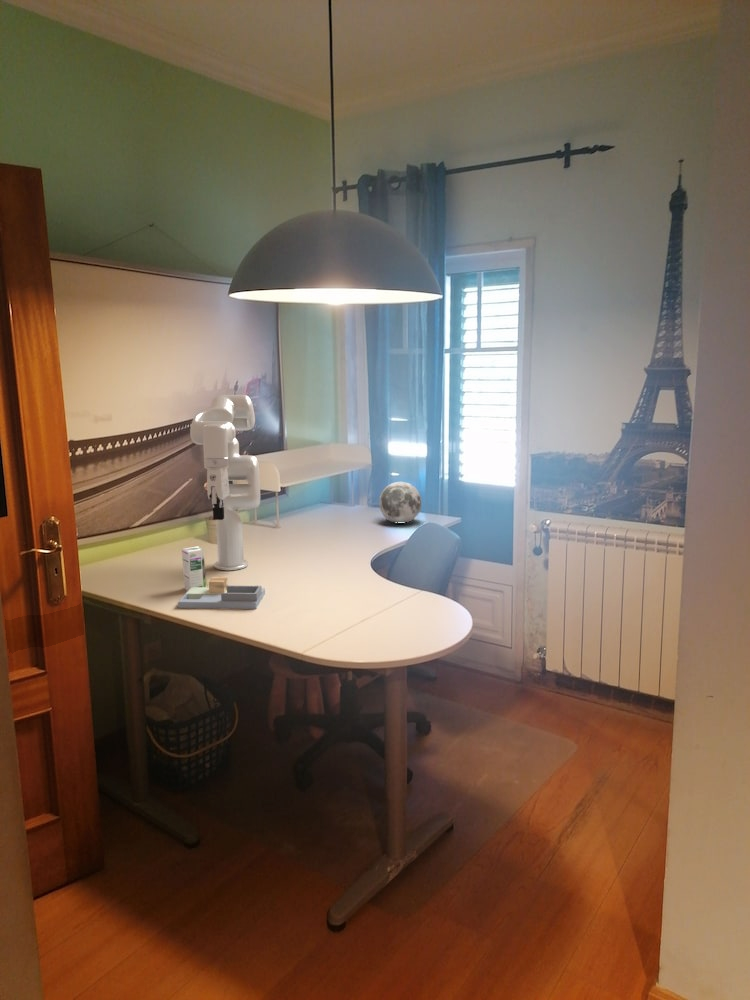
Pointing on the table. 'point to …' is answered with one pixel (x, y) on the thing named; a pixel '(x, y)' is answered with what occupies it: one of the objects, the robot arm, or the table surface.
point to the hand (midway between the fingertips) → (218, 519)
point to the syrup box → (193, 567)
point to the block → (218, 585)
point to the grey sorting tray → (223, 598)
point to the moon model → (400, 502)
